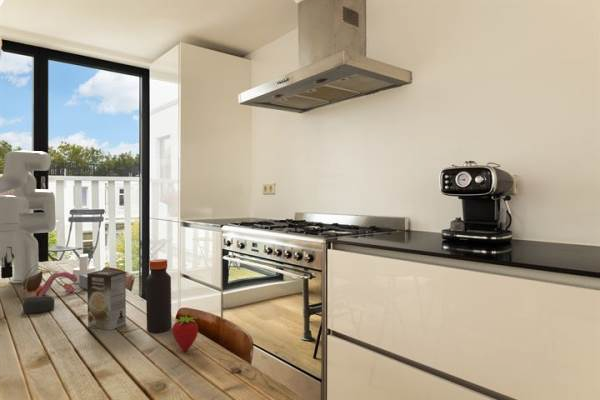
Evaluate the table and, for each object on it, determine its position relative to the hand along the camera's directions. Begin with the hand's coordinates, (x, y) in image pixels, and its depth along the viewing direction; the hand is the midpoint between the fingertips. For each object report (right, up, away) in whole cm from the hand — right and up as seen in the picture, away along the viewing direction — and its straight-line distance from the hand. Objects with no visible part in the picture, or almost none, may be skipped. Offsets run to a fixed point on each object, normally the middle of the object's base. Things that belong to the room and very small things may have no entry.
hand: (6, 277), depth 142 cm
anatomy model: (+9, -9, +10) cm, 17 cm away
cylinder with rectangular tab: (+10, -9, +34) cm, 37 cm away
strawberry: (+81, -9, -48) cm, 94 cm away
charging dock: (+20, -9, +19) cm, 29 cm away
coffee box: (+51, -9, -28) cm, 59 cm away
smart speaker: (+20, -9, -12) cm, 25 cm away
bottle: (+69, -9, -32) cm, 76 cm away
